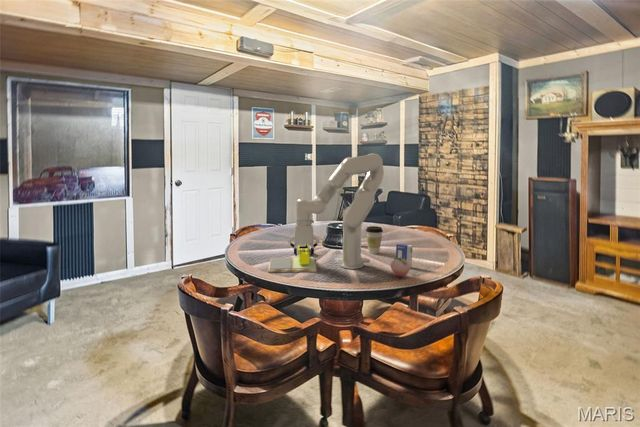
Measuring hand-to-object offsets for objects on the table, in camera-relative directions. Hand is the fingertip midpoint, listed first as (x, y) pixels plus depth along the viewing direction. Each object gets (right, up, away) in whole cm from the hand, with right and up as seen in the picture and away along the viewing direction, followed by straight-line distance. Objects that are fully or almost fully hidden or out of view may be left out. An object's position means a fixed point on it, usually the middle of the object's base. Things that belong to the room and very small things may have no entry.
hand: (303, 255), depth 206 cm
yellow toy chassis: (0, -4, +2) cm, 4 cm away
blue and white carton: (+52, -6, 0) cm, 53 cm away
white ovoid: (-2, -1, +27) cm, 27 cm away
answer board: (-6, -5, +1) cm, 8 cm away
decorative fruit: (+47, -9, -17) cm, 51 cm away
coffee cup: (+40, -1, +26) cm, 48 cm away
